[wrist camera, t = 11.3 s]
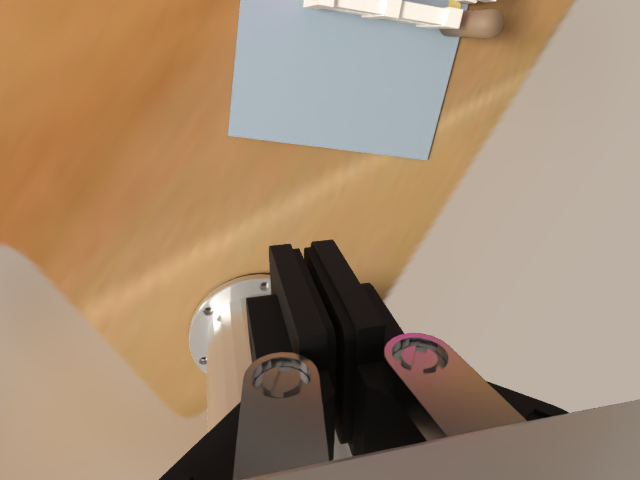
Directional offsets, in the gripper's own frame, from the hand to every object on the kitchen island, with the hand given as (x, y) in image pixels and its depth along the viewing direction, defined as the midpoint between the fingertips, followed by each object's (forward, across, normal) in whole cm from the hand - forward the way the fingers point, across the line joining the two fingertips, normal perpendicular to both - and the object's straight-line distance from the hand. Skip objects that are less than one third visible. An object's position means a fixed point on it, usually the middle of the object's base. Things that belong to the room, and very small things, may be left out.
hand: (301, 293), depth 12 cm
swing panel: (+26, -11, -8) cm, 29 cm away
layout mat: (+27, -9, -5) cm, 29 cm away
